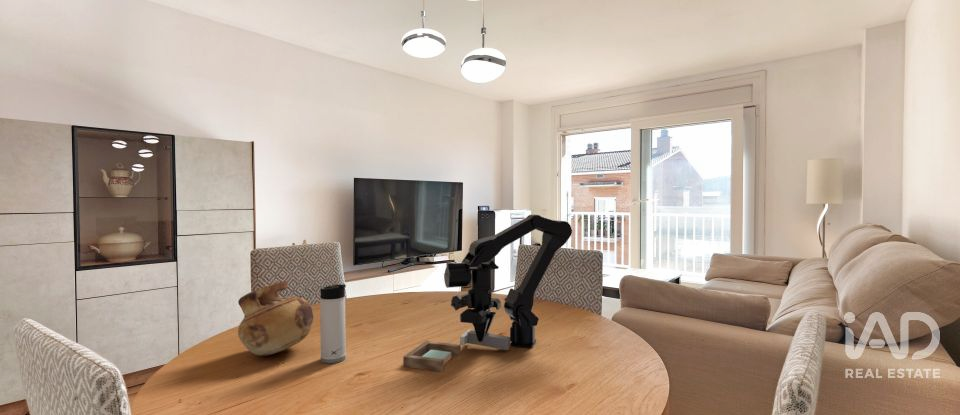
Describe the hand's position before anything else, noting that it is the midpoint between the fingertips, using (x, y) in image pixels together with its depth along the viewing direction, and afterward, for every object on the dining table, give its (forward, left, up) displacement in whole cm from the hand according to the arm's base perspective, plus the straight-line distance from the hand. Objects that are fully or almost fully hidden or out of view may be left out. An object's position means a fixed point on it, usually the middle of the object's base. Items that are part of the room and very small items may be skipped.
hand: (481, 340), depth 121 cm
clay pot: (+53, +21, -3) cm, 57 cm away
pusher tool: (-2, 0, -1) cm, 2 cm away
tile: (+9, +12, -3) cm, 15 cm away
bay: (+10, +12, -2) cm, 16 cm away
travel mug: (+35, +20, -3) cm, 40 cm away
